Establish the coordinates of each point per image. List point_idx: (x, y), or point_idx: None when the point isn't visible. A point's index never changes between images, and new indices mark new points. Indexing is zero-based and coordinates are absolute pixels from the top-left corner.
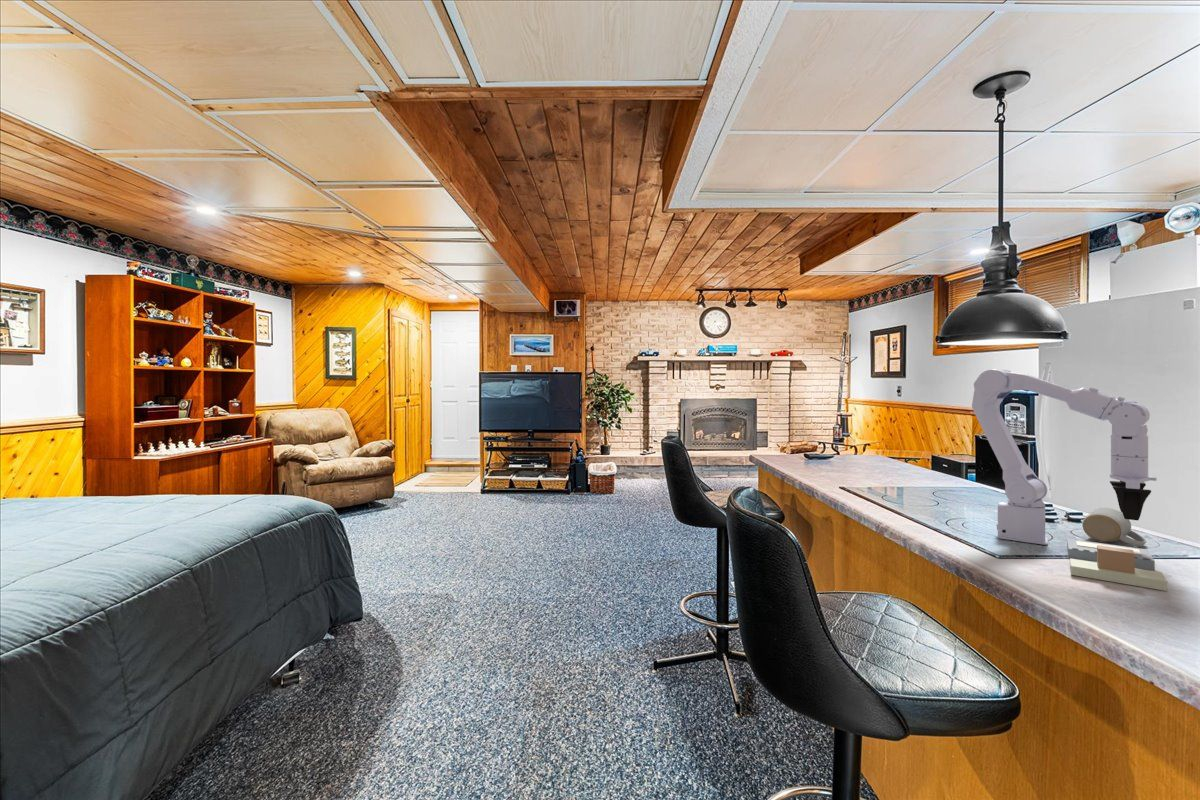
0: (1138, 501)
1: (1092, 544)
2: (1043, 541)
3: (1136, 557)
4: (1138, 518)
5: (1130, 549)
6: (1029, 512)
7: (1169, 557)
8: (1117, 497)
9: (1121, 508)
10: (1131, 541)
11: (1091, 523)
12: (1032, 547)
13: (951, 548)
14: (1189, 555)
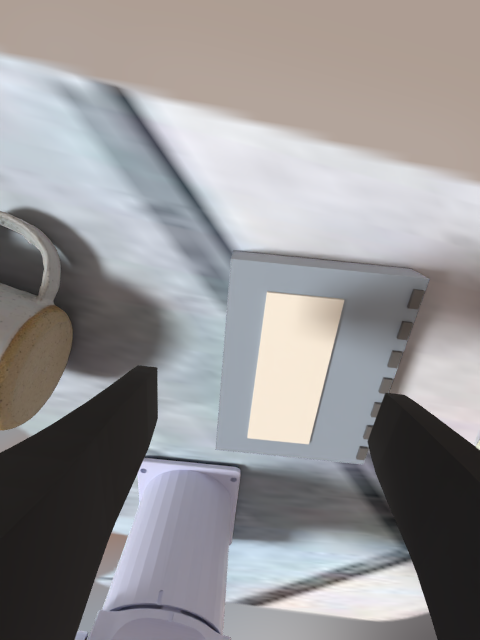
0: None
1: (273, 407)
2: (219, 476)
3: (411, 325)
4: (416, 405)
5: (285, 318)
6: (223, 610)
7: (160, 169)
8: (107, 536)
9: (150, 441)
10: (55, 267)
11: (31, 403)
12: (279, 492)
13: (386, 602)
14: (57, 73)
